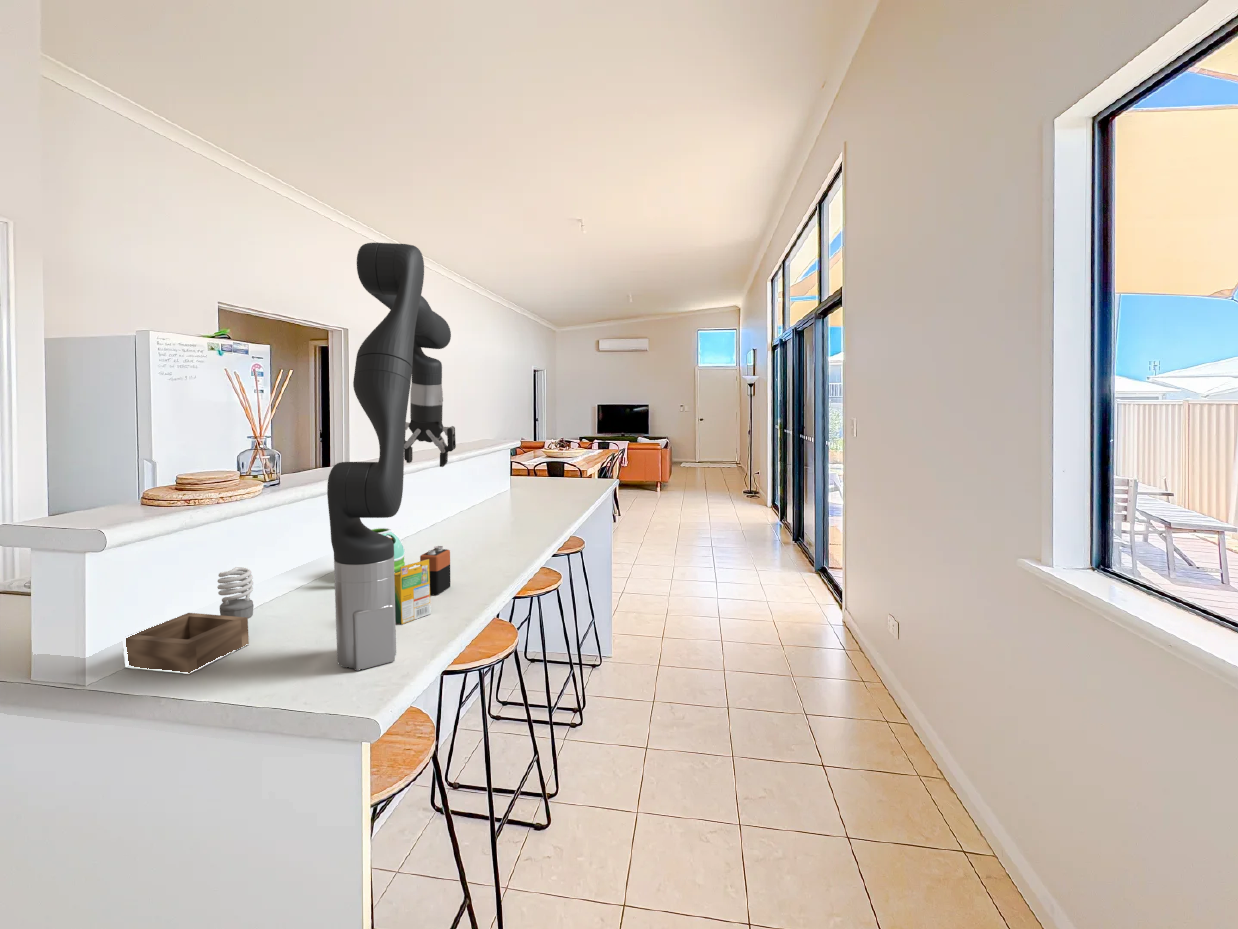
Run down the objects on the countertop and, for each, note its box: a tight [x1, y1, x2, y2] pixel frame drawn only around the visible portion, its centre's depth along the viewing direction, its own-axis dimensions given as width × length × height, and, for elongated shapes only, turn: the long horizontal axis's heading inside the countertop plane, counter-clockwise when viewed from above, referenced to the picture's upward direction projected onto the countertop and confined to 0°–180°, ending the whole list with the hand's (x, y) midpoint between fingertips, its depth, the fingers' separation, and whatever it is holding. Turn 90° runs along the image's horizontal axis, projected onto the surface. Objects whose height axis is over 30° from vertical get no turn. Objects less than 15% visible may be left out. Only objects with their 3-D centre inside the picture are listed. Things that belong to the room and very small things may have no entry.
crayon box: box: [394, 559, 432, 625], centre depth 119 cm, size 7×3×12 cm, turn 148°
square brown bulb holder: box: [126, 612, 250, 673], centre depth 99 cm, size 12×12×5 cm
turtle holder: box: [370, 527, 406, 573], centre depth 144 cm, size 12×18×12 cm
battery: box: [419, 545, 451, 596], centre depth 136 cm, size 4×7×10 cm, turn 170°
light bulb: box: [217, 566, 255, 620], centre depth 111 cm, size 6×6×12 cm
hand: (426, 464), depth 150 cm, fingers open, 8 cm apart
